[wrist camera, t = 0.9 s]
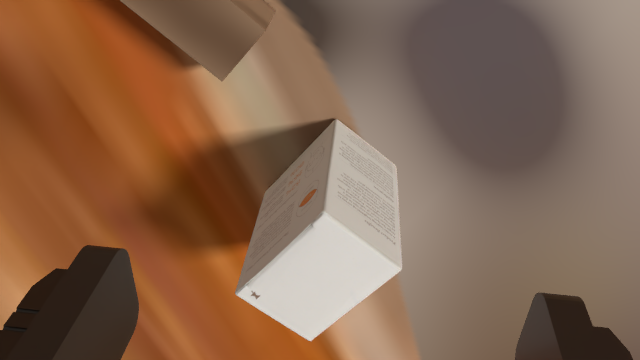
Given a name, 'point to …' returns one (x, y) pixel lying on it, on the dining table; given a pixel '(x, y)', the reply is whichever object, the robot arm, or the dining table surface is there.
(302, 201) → the small box
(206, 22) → the brown long bar
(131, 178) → the dining table surface
